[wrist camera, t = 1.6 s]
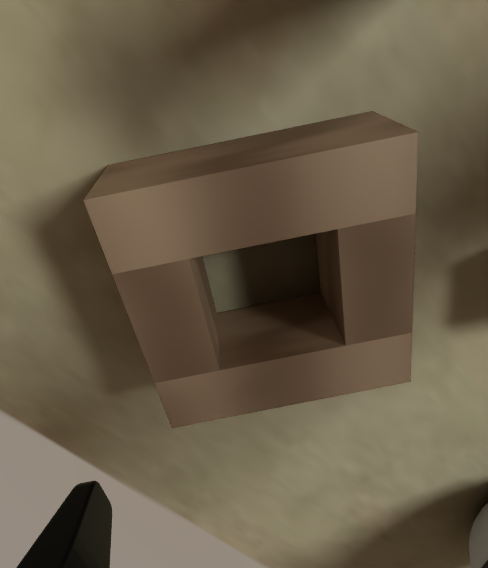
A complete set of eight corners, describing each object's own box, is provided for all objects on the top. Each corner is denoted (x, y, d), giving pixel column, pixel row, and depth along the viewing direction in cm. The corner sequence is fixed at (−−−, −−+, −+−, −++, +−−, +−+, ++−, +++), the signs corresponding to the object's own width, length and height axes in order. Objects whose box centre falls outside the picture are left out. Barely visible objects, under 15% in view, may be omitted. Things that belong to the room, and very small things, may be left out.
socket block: (372, 111, 14) (418, 131, 11) (377, 325, 19) (410, 381, 16) (107, 165, 14) (83, 200, 11) (176, 365, 19) (171, 428, 16)
